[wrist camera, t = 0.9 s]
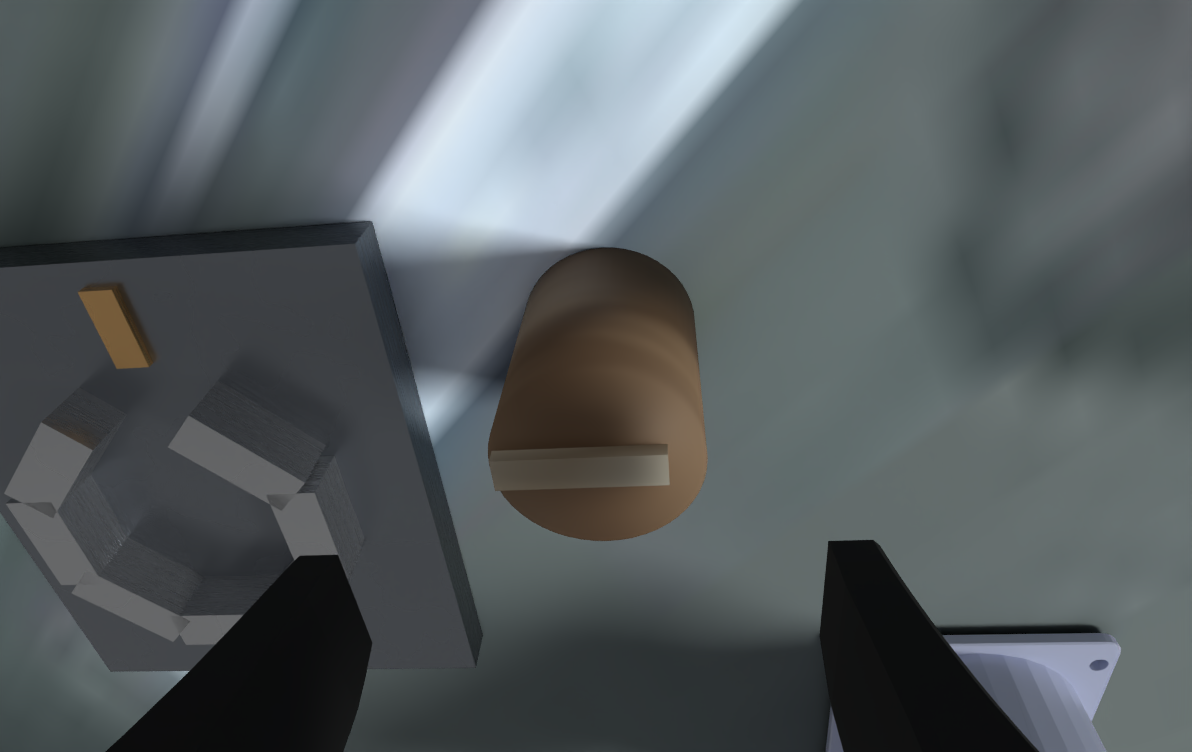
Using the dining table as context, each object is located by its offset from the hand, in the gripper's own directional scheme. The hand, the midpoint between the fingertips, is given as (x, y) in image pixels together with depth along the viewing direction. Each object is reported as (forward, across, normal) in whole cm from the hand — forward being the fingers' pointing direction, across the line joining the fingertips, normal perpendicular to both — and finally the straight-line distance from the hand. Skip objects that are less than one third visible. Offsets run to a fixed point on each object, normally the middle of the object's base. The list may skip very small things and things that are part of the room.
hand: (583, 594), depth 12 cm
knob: (+8, 0, 0) cm, 8 cm away
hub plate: (+8, +11, +4) cm, 14 cm away
